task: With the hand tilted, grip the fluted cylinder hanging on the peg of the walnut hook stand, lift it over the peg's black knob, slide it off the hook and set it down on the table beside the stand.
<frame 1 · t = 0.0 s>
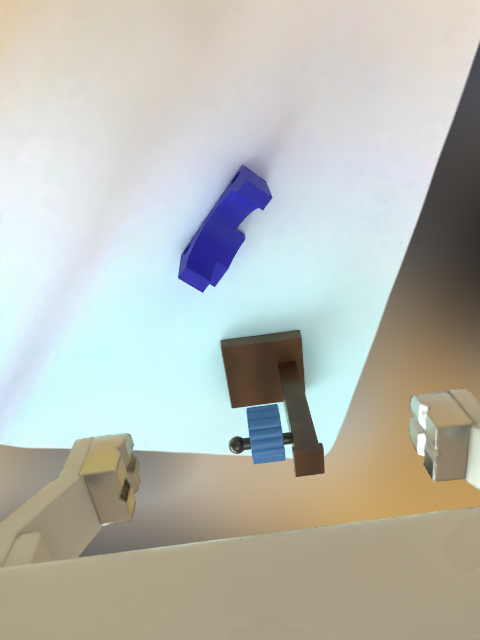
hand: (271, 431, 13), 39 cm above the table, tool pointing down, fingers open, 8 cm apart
fluted cylinder: (262, 414, 53), point 9 cm above the table, touching hook stand
cable clip: (227, 222, 50), on the table
hook stand: (263, 366, 60), on the table
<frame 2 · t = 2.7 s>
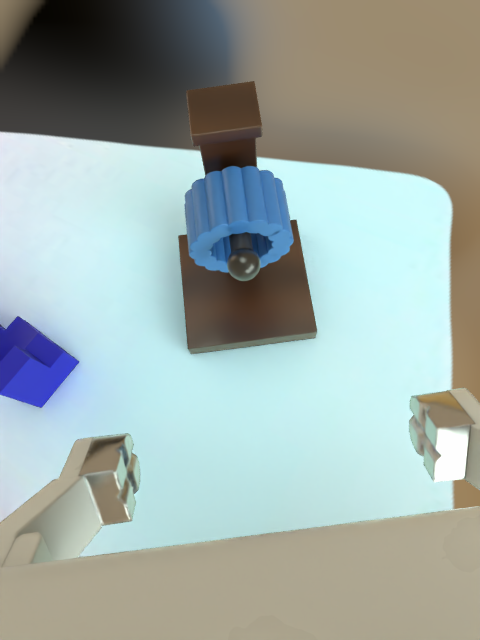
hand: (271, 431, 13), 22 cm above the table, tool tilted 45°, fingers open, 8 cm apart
fluted cylinder: (240, 248, 29), point 9 cm above the table, touching hook stand
cable clip: (9, 344, 38), on the table
hook stand: (245, 289, 38), on the table
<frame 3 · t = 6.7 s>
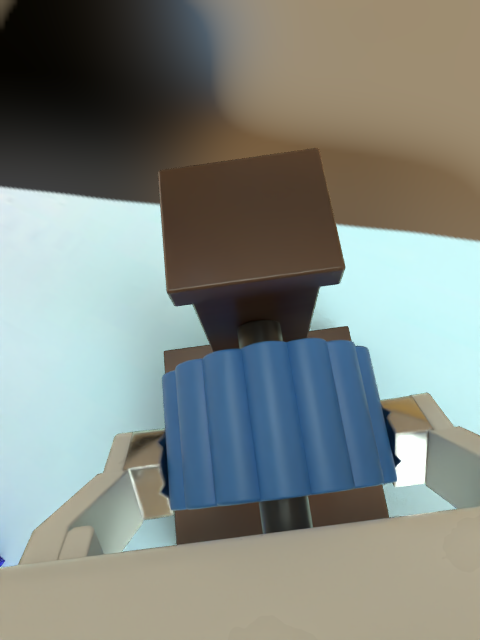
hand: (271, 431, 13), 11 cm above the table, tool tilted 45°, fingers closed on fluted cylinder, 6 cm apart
fluted cylinder: (272, 439, 16), point 9 cm above the table, touching gripper, hook stand
hook stand: (268, 436, 24), on the table
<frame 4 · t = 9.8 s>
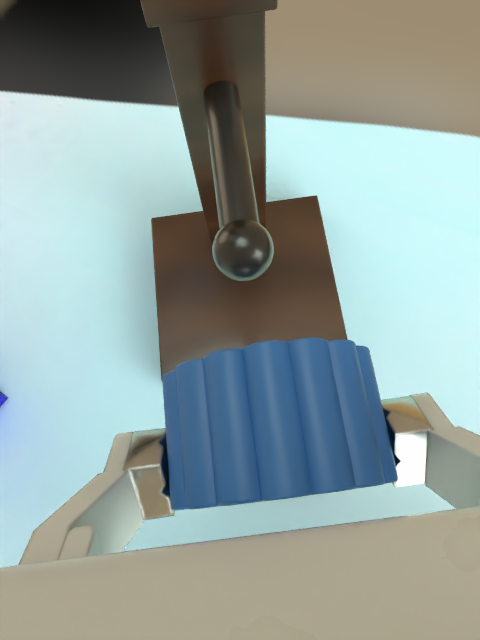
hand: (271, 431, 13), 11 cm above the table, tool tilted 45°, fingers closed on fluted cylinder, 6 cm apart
fluted cylinder: (273, 439, 16), point 9 cm above the table, touching gripper
hook stand: (245, 293, 27), on the table
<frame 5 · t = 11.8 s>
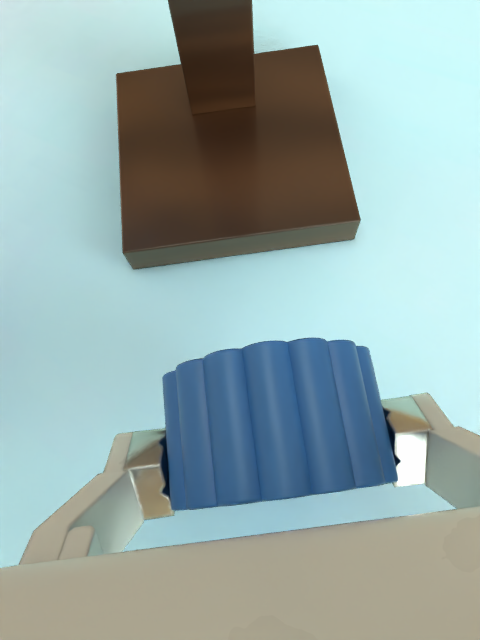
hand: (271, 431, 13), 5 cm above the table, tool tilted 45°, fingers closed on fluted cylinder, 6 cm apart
fluted cylinder: (273, 439, 16), point 2 cm above the table, touching gripper
hook stand: (230, 163, 22), on the table
when the fingers open (2 cm above the table, at t = 13.1 s): fluted cylinder stays where it is, on the table.
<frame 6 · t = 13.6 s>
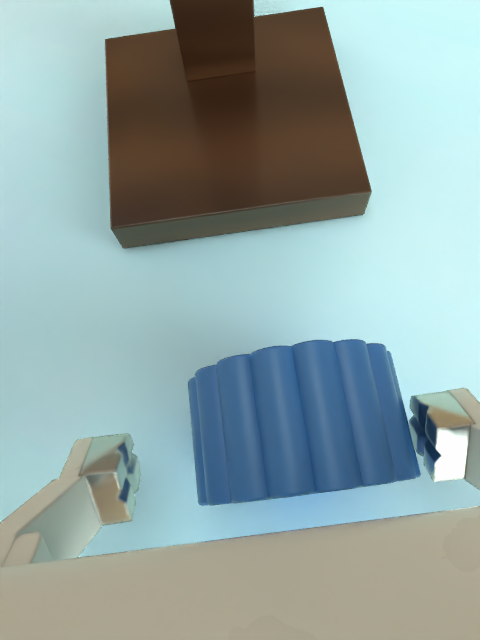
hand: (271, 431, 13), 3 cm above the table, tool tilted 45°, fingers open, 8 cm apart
fluted cylinder: (276, 440, 16), on the table, tilted 11°
hook stand: (229, 135, 21), on the table
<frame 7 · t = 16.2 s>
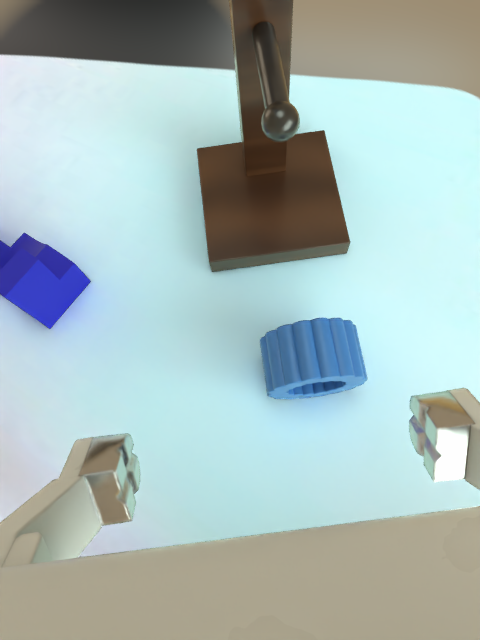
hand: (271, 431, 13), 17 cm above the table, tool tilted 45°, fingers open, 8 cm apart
fluted cylinder: (299, 373, 31), on the table, tilted 11°
cable clip: (15, 265, 35), on the table
hook stand: (269, 205, 35), on the table
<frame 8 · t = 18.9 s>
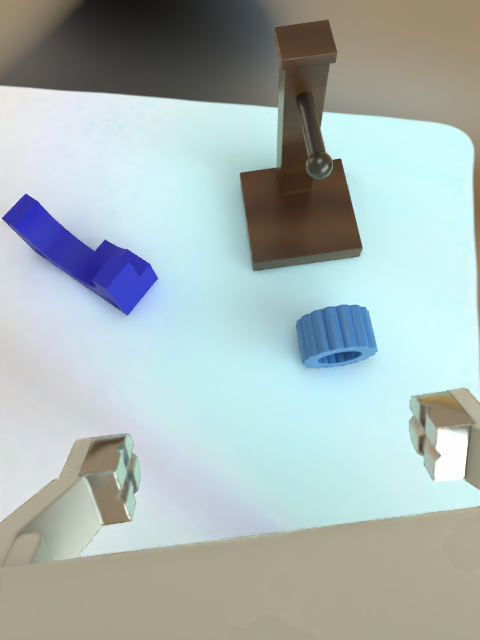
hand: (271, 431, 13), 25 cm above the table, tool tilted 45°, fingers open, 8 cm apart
fluted cylinder: (324, 348, 40), on the table, tilted 11°
cable clip: (95, 265, 44), on the table
hook stand: (297, 218, 45), on the table
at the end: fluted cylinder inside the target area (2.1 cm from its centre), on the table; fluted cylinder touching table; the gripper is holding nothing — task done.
